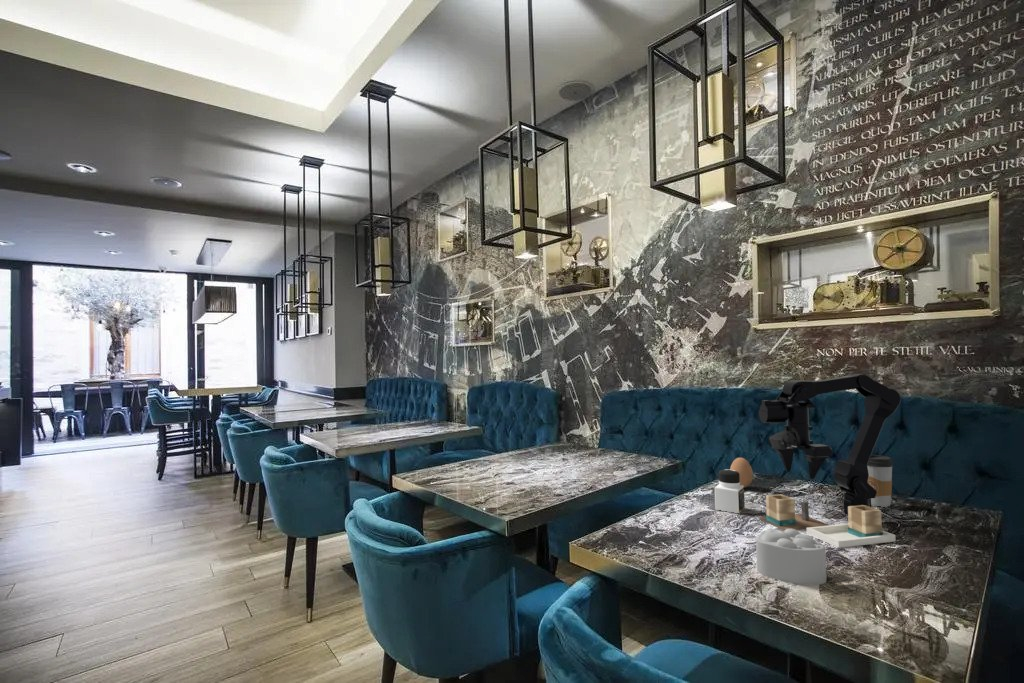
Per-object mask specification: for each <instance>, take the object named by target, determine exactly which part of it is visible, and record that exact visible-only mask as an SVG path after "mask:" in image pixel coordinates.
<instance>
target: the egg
mask: <svg viewBox="0 0 1024 683" xmlns="http://www.w3.org/2000/svg"><path fill="white" fill-rule="evenodd" d="M729 470H735V471H737V472H739V474H740V485H743V486H744V489H746V488H747V487H749V486H750V485H751V483H752V482H753V478H754V473H753V469H752V466H751V464H750V462H749V461H748V460H747V459H746V458H744V457H736V458H735V459H734V460H733V461H732V462H731V465H730V469H729Z"/></svg>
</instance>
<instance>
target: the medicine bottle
mask: <svg viewBox="0 0 1024 683" xmlns="http://www.w3.org/2000/svg"><path fill="white" fill-rule="evenodd" d="M745 502H746V501H745V488H744V486H743V485H740V474H739V472H737V471H735V470H730V469H728V468H727V469H721V470H718V484H717V485H716V486H715V487H714V509H715V511H719V510H721V512H725V511H727V512H726V513H731V512H734V513H733V514H737V513H739V514H741V512H742V511H743V510H744V509H745V505H746V504H745Z"/></svg>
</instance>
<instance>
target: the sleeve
mask: <svg viewBox="0 0 1024 683" xmlns="http://www.w3.org/2000/svg"><path fill="white" fill-rule="evenodd" d="M847 515H848V516H847V517H848V518H847V520H848V522H847V523H849V527H848V533H850V534H852V535H855V536H857V537H869V536H878V535H883V532H882V530H883V526H882V510H881V509H878V508H875V507H873V506H871V507H869V506H866V505H857V506H848V514H847Z"/></svg>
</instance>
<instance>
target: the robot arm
mask: <svg viewBox="0 0 1024 683" xmlns="http://www.w3.org/2000/svg"><path fill="white" fill-rule="evenodd" d="M853 389H855V390H856V391H857V393H858V394H859V395H861V396H862V397H864V398H865V399H864V410H865V415H864V417H863V420H862V421H861V425H860V427H859V430H858V432H857V435H856V437H855V440H854V442H853V444H852V447H851V449H850V452H849V454H848V456H847V458H845V459H844V460H840V459H838V460H837V461H836V462H835V468H834V469H833V470H832V472H833V476H832V477H833V479H834V483H835V484H837V486H838V488H839V489H840V491H841V492H845V493H843V510H840V513H843V514H846V515H848V506H857V505H866V506H869V507H872V506H871V498H875V496H876V493H877V491H876V490H875V489H874V488H873V487H872V486H871V485H869V484H868V483H867V482H868V477H869V473H868V467H867V464H868V461H869V458H870V456H871V455H873V454H872V453H873V452H874V451H873V450H874V448H875V447H876V443H877V441H878V439H879V436H880V434H881V431H882V429H883V426H884V424H885V421H886V420H887V419H888V418H889V417H890V416H892V415H893V414H894V413H895V412H896V411H897V409H898V407H899V406H900V404H901V403H902V402H901V401H902V396H900V393H899V392H898V391H897V390H896V389H893V388H889V387H888V386H886V385H885V384H882V383H880V382H878V381H876V380H874V379H872V378H871V377H869V376H868V375H866V374H862V373H853V374H850V375H844V376H837V377H830V378H824V379H819V380H796V379H795V380H793V379H791V380H787V381H786V382H785V383H784V384H783V386H782V390H781V392H780V393H779V395H778V396H777V397H776V399H775V400H768V399H767V400H765V399H762V400H761V404H760V406H759V410H758V417H759V420H760V422H761V423H763V424H784V423H785V422H786V425H783V427H782V431H781V432H780V431H779V432H777V433H775V434H773V435H771V436H769V439H768V446H769V447H771V449H772V450H774V451H775V452H776V453H778V455H779V458H780V459H781V462H782V465H783V466H784V469H785V472H787V473H790V472H791V470H792V465H793V461H794V460H793V458H794V454H795V449H796V450H800V451H803V452H804V454H805V455H803V457H804V458H805V459H806V461H807V465H808V475H809V479H810V480H814V479H815V478H816V475H817V474H818V472H819V471H820V469H821V467H822V465H823V463H824V462H825V461H826V459H829V458H830V457H833V448H832V447H831V446H830V445H825V444H822V443H814V440H813V439H812V440H811V439H810V431H813V430H814V429H813V428H814V426H810V417H809V416H810V415H809V413H810V412H809V411H810V410H809V408H810V409H811V408H812V409H815V408H816V407H817V404H815V403H813V402H812V401H811V399H813V398H815V397H817V396H819V395H822V394H827V393H832V392H840V391H847V390H853Z"/></svg>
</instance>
